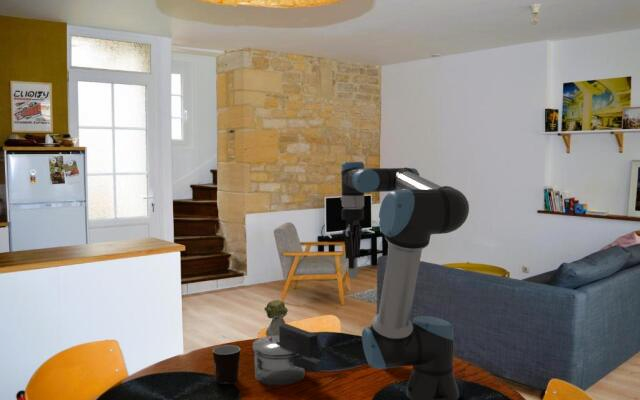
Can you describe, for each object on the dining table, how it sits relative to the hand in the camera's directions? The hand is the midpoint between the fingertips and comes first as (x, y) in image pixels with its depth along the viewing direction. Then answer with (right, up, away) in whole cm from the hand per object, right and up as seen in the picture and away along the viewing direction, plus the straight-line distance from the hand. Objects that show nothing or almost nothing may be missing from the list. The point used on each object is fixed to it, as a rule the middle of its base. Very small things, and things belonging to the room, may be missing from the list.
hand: (352, 277), depth 198 cm
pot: (-22, -30, -11) cm, 39 cm away
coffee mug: (-40, -31, -12) cm, 52 cm away
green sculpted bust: (-27, -29, +14) cm, 42 cm away
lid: (-21, -21, -13) cm, 33 cm away
